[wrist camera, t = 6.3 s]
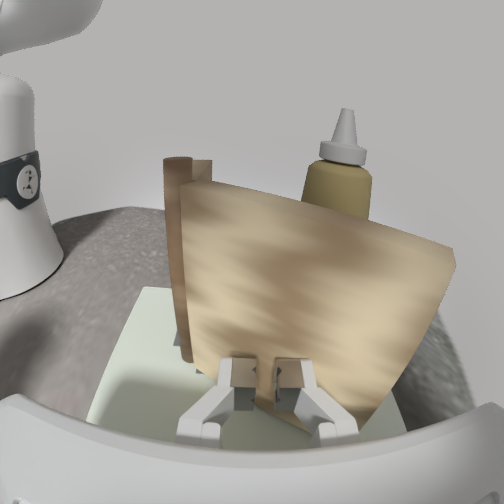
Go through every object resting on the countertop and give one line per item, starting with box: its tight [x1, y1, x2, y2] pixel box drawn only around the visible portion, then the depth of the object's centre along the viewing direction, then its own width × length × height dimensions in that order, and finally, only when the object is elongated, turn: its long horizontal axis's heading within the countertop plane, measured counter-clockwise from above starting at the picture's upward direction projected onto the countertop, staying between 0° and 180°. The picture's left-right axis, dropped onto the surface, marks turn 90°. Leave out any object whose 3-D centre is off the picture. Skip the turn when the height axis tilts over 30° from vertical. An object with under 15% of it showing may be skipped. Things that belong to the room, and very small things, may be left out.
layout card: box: [86, 287, 407, 450], centre depth 16 cm, size 20×20×3 cm
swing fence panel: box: [163, 157, 456, 433], centre depth 13 cm, size 13×2×13 cm, turn 56°
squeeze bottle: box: [301, 108, 372, 220], centre depth 27 cm, size 8×8×18 cm
